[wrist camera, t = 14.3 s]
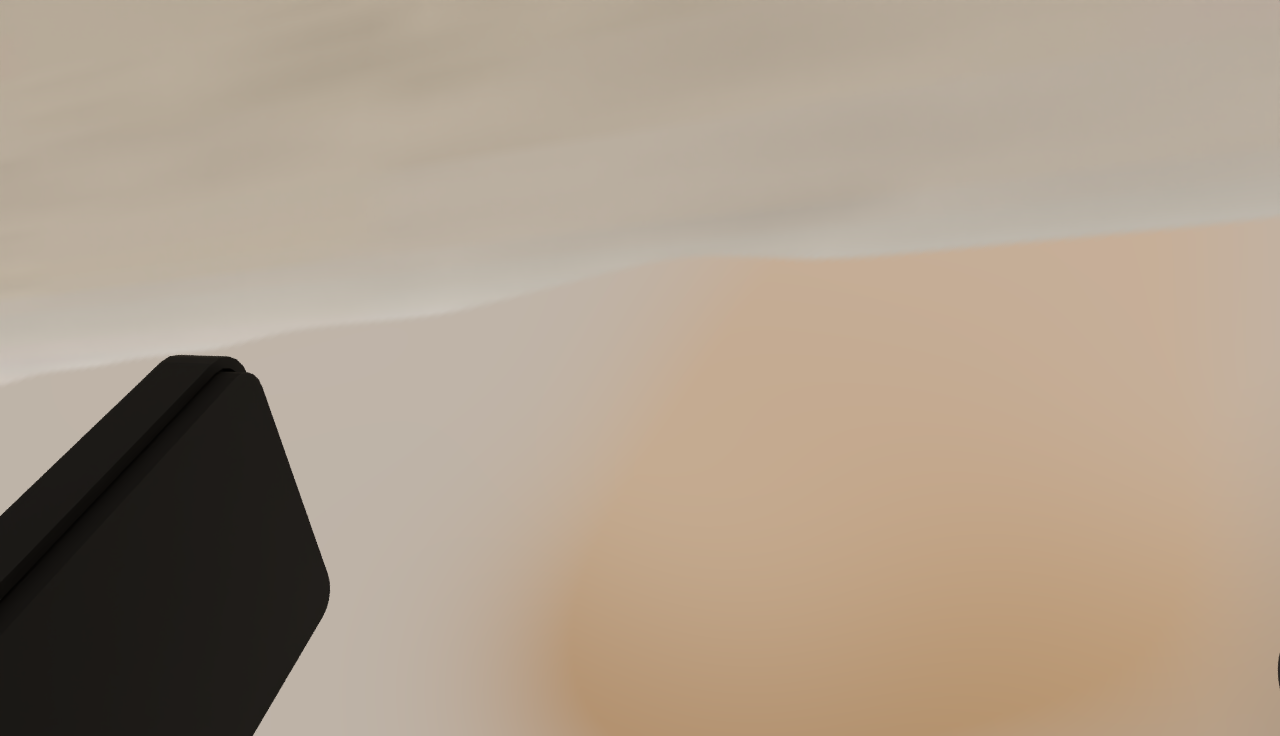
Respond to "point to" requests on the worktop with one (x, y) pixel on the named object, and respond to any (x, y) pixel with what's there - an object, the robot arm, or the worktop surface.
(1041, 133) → the worktop surface
